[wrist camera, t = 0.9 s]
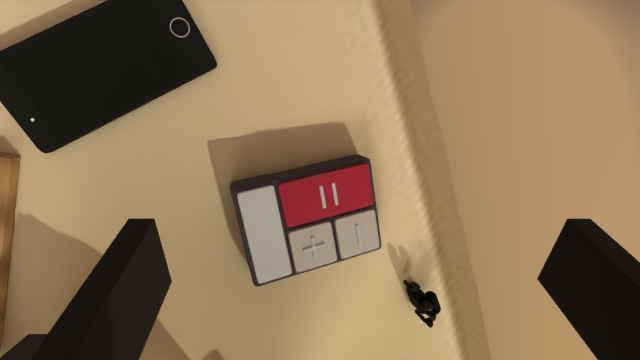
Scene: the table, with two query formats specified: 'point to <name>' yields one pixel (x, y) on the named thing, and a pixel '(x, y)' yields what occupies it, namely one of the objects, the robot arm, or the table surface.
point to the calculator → (306, 217)
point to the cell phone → (99, 67)
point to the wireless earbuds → (423, 302)
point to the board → (6, 221)
